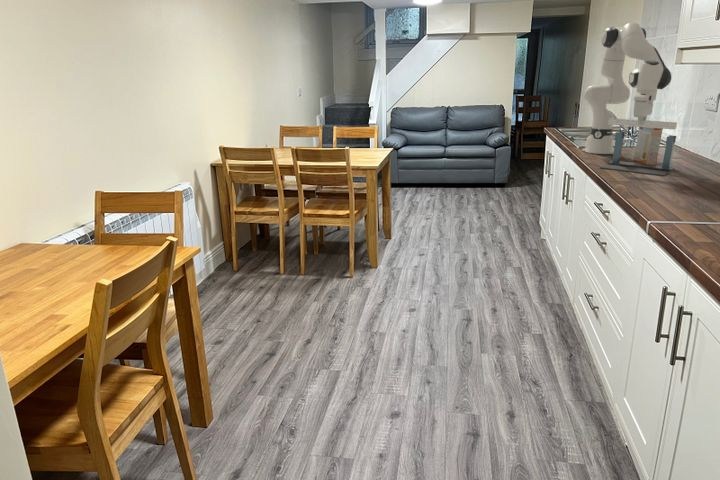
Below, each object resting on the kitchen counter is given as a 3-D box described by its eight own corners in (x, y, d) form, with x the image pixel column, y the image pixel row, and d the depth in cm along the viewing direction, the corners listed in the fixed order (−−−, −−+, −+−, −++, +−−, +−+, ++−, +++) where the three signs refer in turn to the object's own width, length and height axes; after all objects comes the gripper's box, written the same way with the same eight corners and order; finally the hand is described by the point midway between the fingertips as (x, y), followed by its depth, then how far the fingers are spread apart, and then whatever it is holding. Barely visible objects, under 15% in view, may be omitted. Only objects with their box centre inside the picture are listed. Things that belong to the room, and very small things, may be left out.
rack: (611, 162, 295) (616, 130, 289) (673, 169, 277) (680, 135, 271) (607, 164, 289) (612, 132, 284) (670, 172, 271) (676, 137, 265)
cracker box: (656, 165, 287) (664, 125, 280) (645, 165, 287) (652, 125, 280) (644, 160, 300) (650, 122, 294) (633, 160, 300) (639, 122, 294)
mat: (605, 165, 287) (605, 164, 287) (668, 173, 269) (669, 171, 269) (599, 168, 280) (599, 167, 279) (664, 176, 261) (664, 175, 261)
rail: (609, 124, 277) (610, 118, 276) (675, 128, 259) (677, 122, 258) (608, 124, 275) (608, 118, 274) (674, 129, 257) (675, 122, 256)
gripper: (644, 94, 272) (639, 123, 277) (633, 97, 257) (628, 126, 262) (658, 95, 268) (653, 124, 273) (647, 97, 253) (642, 127, 258)
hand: (641, 125), depth 267 cm, fingers closed on rail, 3 cm apart
